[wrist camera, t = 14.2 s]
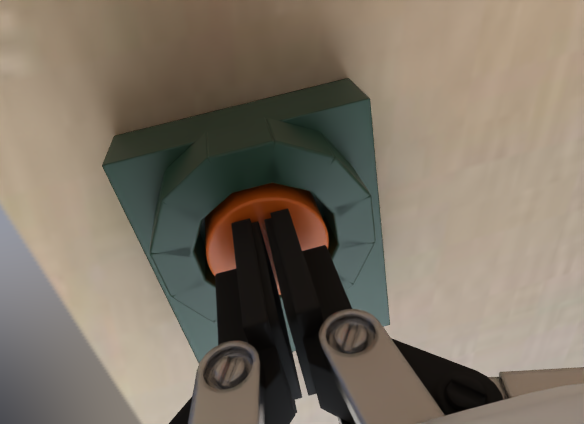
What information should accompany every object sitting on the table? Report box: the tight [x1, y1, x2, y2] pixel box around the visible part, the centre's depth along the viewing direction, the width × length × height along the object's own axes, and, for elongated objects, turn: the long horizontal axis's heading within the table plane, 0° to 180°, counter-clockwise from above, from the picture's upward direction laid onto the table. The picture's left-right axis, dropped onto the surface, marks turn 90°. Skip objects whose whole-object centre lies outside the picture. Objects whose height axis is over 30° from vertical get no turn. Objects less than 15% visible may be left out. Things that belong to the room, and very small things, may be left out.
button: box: [205, 183, 329, 295], centre depth 13 cm, size 4×4×2 cm
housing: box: [102, 78, 390, 363], centre depth 16 cm, size 10×8×4 cm
